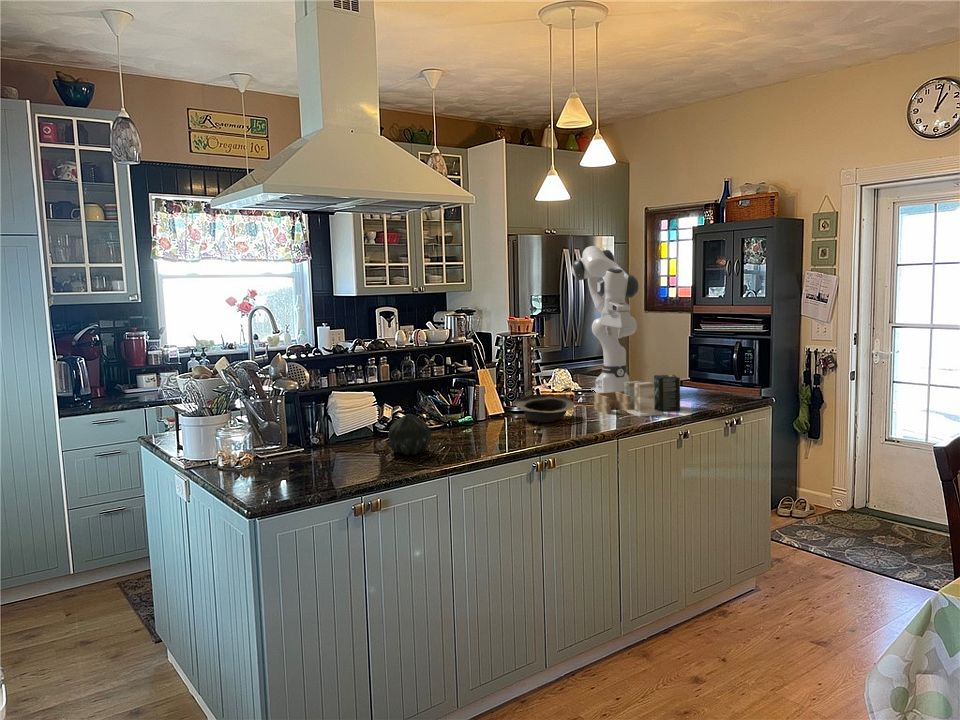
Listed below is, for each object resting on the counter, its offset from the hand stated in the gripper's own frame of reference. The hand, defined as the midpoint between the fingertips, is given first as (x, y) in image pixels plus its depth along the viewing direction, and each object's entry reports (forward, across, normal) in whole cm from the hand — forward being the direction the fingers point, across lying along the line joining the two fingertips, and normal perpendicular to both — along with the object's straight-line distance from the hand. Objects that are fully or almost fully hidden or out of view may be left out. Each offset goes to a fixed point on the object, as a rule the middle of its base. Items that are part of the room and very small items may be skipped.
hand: (614, 337), depth 321 cm
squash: (+32, +42, -103) cm, 116 cm away
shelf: (+32, +4, +2) cm, 32 cm away
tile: (+32, +17, +6) cm, 36 cm away
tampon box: (+32, +12, +20) cm, 39 cm away
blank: (+31, +17, +6) cm, 35 cm away
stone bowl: (+32, +10, -38) cm, 50 cm away
